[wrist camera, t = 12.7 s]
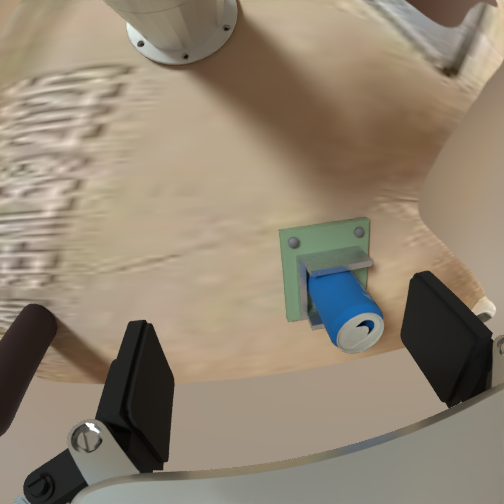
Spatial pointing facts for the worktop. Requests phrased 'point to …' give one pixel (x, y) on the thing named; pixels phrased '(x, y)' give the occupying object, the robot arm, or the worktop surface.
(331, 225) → the deck plate
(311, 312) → the bracket
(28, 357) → the wine bottle
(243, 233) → the worktop surface
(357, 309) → the beverage can
